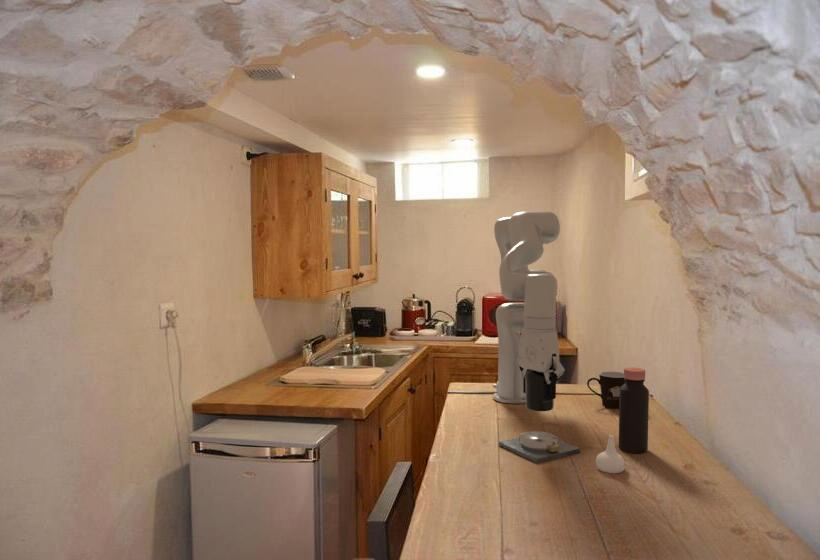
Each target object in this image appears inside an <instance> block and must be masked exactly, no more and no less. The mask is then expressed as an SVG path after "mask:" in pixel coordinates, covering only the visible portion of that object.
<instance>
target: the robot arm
mask: <svg viewBox="0 0 820 560" xmlns="http://www.w3.org/2000/svg"><path fill="white" fill-rule="evenodd" d="M493 231H494V239H495V241H496V242H495V243H496V244H497V247H498V249H499V254H500V264H499V265H500V266H499V273H498V274H499V282H500V284H499V285H500V291H501V295H502V296H503V298H504V299H505V300H507V301H511V302H506V303H502V304H500V305H499V306H498V307H497V308H496V310H495V321H496V328H497V340H498V341H497V342H498V343H497V345H498V347H497V351H498V355H497V356H498V357H497V359H498V360H497V361H498V364H497V365H498V366H497V368H498V370H497V371H498V372H497V373H498V374H497V382H496V383H493V385H492V388H493V389H496V392H495V393H493V395H492V396H493V397H492V398H493V400H495V401H497V402H500V403H504V404H512V405H513V404H515V405H517V404H526V391H525V375H526V372H527V371H529V370H532V371H536V372H541V373H544V376H545V379H546V382H547V383H545V384H544V399H545V400H551V399H556V397H557V384H558V382H559V380H560V379H561V378H562V375H564V373H565V371H566V370H565V367H564V366H563V365H562V363H561V362H560V349H559V347H560V346H559V344H560V343H559V338H558V333H557V330H556V324H557V323H556V321H557V318H556V317H557V315H556V312H557V311H556V310H557V306H556V305H557V299H556V298H557V292H558V280H557V278H556V276H554V274H553V273H552V272H549V271H546V270H544V269H529V265H532V264H534V263H536V262H537V261H539V260H540V259H541V258H542V256H543V253H544V245H548V244H551V243H553V242H555V241H556V240H557V239H558V238H559V235H560V232H561V225H560V220H559V218H558V216H557V215H556V213H554V212H552V211H519V212H516V213H514V214H513V215H511V216H509V217H508V216H506V217H502V218H498V219H497V220H496V221H495V222H494V229H493ZM512 301H514V302H512ZM519 301H522V302H519ZM549 373H551V377H550V375H549Z"/></svg>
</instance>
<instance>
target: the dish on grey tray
mask: <svg viewBox="0 0 820 560" xmlns="http://www.w3.org/2000/svg"><path fill="white" fill-rule="evenodd" d="M499 445H500V446H499ZM498 446H499V447H501V446H502V447H501V448H503V447H504V448H503V449H505V450H507V449H508V451H509V452H512V453H514V454H515V455H518V456H520V457H522V458H525V459H526V460H529V461H531V462H533V463H535V464H540V463H543V462H547V461H551V460H556V459H558V458H559V459H560V458H563V457H567V456H571V455H575V454H580V453H581V448H579V447H578V446H575V445H572V444H571V443H567V442H565V441H562V440H560V439H558V437H557V436H556V435H555V434H553V433H549V432H545V431H538V430H537V431H533V430H532V431H526V432H520V433H518V437H514V438H510V439H504V440H501V441H498Z"/></svg>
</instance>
